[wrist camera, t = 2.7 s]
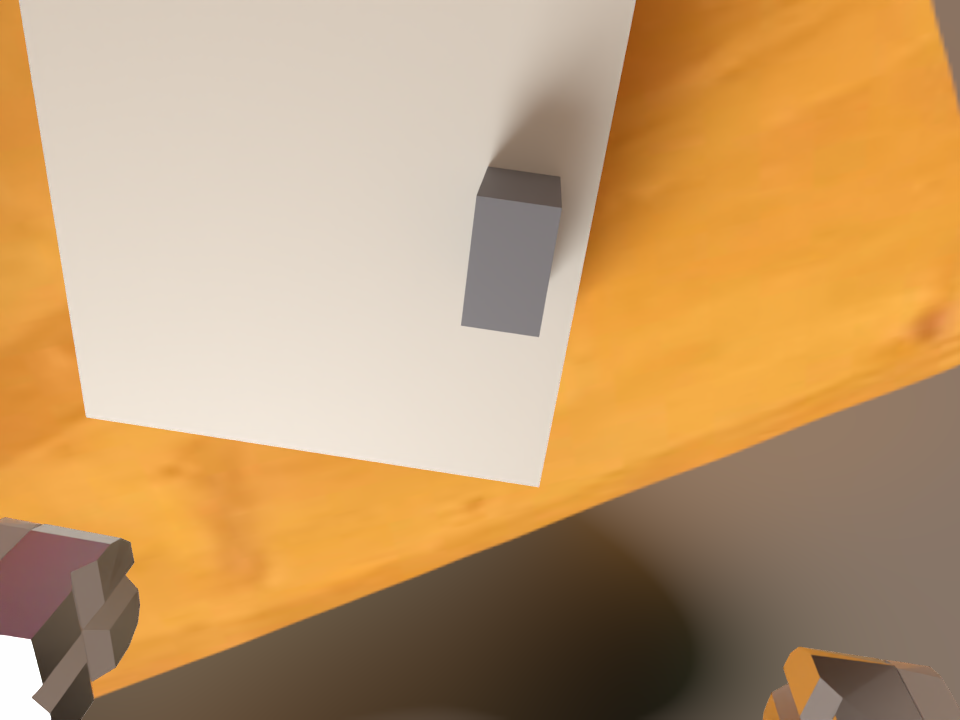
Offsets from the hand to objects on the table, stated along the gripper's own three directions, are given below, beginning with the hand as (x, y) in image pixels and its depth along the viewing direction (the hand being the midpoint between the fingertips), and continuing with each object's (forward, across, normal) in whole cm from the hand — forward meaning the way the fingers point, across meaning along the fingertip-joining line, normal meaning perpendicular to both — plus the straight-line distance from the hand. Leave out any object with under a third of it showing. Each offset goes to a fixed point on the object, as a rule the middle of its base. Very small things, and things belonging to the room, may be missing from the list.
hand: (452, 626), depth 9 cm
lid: (+18, +7, 0) cm, 20 cm away
